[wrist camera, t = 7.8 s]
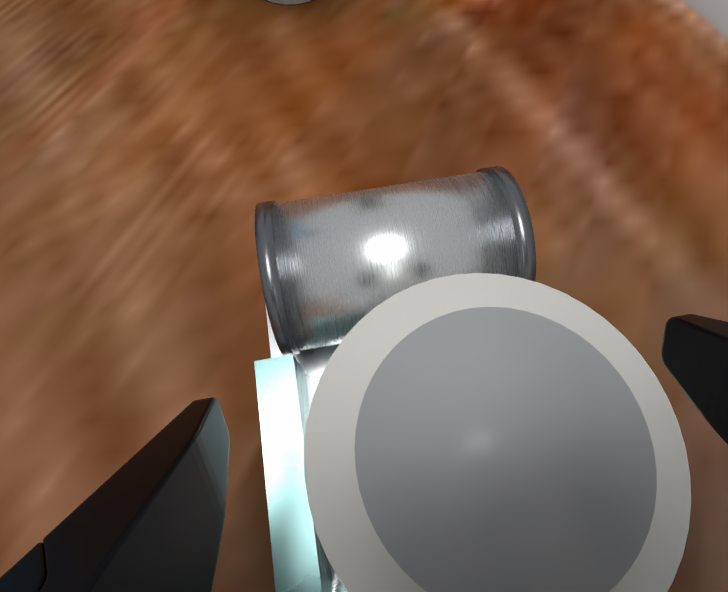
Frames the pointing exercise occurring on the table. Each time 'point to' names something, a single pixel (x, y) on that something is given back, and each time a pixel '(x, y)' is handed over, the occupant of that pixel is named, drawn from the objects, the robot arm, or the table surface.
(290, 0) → the house plant
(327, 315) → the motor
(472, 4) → the table surface
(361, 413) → the white cylinder
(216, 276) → the table surface
